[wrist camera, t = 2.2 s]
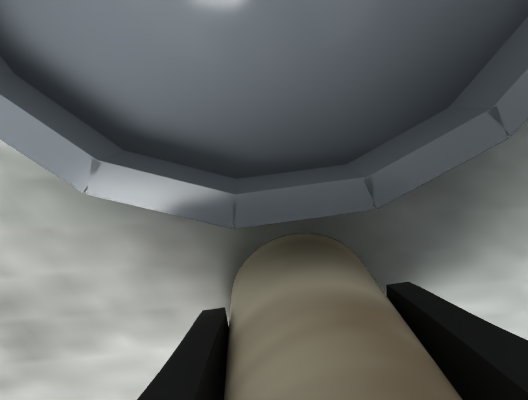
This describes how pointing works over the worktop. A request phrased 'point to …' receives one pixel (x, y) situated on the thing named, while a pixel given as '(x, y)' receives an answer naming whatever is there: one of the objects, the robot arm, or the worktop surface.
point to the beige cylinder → (321, 330)
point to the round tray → (259, 99)
